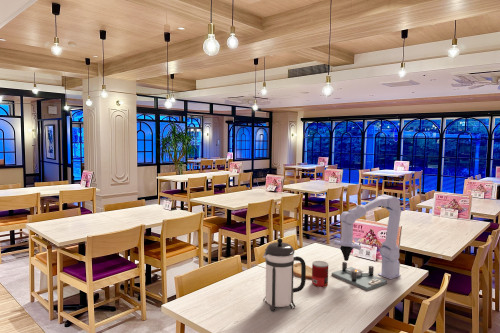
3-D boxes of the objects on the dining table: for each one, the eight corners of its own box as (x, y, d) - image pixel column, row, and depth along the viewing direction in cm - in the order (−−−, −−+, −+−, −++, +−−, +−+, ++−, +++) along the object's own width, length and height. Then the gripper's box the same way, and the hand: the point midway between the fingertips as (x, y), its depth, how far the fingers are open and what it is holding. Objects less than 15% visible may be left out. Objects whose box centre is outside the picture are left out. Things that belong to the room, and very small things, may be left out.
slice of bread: (321, 280, 181) (321, 273, 180) (286, 278, 183) (286, 272, 183) (318, 268, 198) (319, 262, 198) (287, 266, 201) (287, 260, 200)
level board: (351, 269, 196) (351, 263, 196) (387, 283, 177) (387, 276, 177) (331, 275, 187) (331, 268, 187) (367, 290, 168) (367, 283, 168)
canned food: (328, 288, 171) (328, 266, 170) (311, 286, 172) (312, 265, 172) (327, 282, 178) (328, 261, 177) (312, 280, 180) (312, 260, 179)
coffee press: (289, 317, 142) (290, 245, 140) (255, 307, 150) (256, 239, 148) (305, 301, 157) (307, 236, 155) (274, 292, 165) (275, 231, 163)
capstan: (342, 269, 191) (342, 261, 191) (373, 274, 184) (373, 266, 184) (337, 278, 178) (337, 270, 178) (370, 284, 171) (370, 275, 171)
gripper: (330, 233, 182) (330, 258, 183) (357, 239, 172) (356, 265, 173) (337, 231, 187) (336, 255, 188) (362, 236, 178) (362, 261, 179)
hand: (346, 260), depth 181 cm, fingers closed
